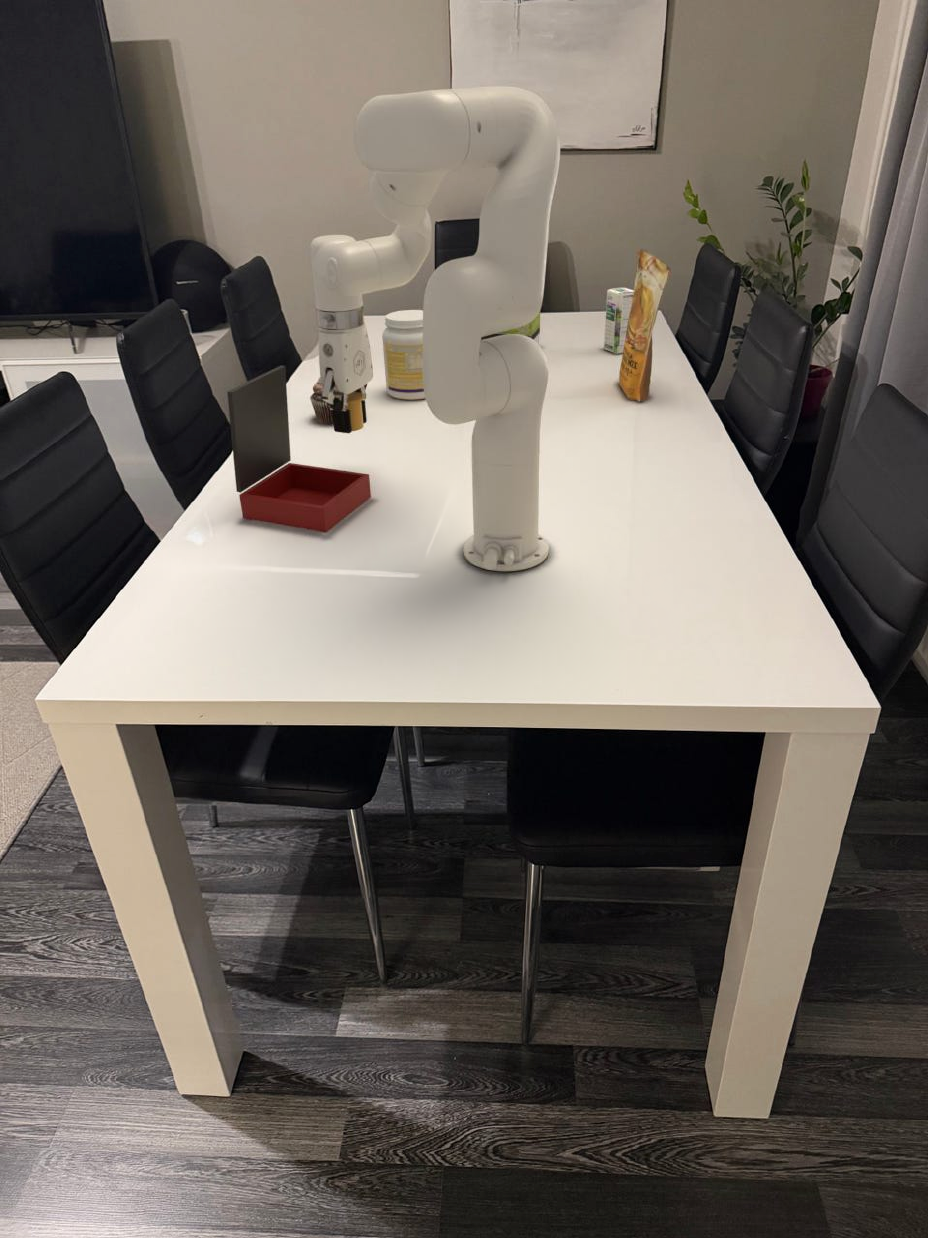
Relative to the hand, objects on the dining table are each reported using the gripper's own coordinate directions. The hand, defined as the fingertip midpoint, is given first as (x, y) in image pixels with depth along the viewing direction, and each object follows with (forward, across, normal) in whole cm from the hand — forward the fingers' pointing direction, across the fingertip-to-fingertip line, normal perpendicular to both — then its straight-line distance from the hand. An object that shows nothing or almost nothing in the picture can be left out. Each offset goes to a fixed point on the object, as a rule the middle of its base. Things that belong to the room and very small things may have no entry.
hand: (350, 425), depth 158 cm
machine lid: (-4, -15, +7) cm, 17 cm away
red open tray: (+10, -15, 0) cm, 18 cm away
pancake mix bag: (+10, +65, -34) cm, 74 cm away
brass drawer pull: (0, 0, 0) cm, 0 cm away
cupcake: (+10, +28, +20) cm, 36 cm away
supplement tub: (+10, +48, +12) cm, 51 cm away
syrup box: (+10, +96, -22) cm, 99 cm away
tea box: (+10, +88, +5) cm, 88 cm away
